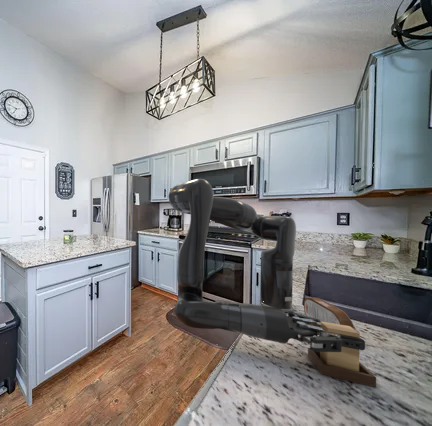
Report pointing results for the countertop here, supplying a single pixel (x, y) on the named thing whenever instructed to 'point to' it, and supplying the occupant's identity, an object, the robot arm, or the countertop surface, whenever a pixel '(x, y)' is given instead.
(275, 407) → the countertop surface
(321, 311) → the tin
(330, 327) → the block
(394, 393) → the countertop surface
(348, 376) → the frame
